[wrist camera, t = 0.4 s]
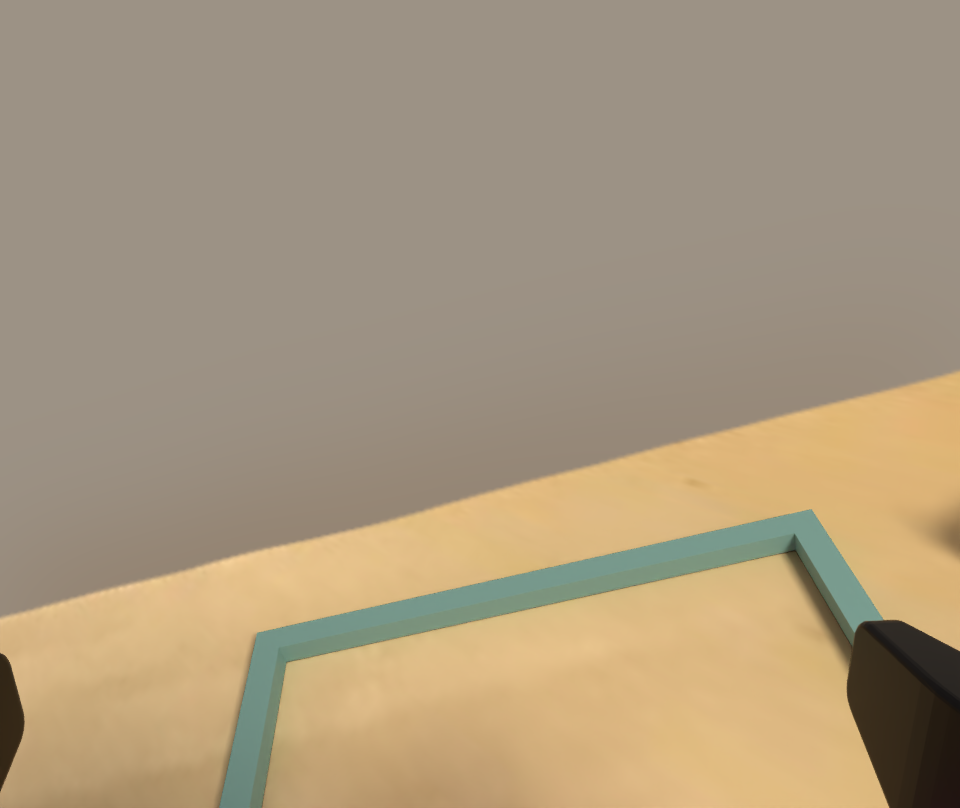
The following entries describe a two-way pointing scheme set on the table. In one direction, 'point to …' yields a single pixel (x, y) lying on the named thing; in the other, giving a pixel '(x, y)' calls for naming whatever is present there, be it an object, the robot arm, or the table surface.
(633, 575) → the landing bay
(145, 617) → the table surface
